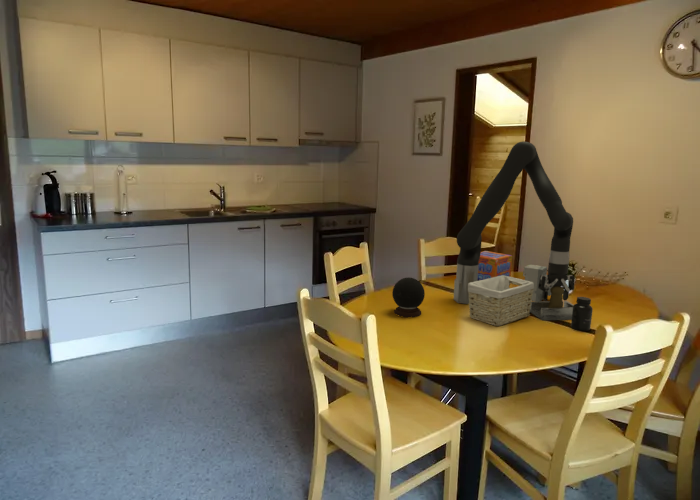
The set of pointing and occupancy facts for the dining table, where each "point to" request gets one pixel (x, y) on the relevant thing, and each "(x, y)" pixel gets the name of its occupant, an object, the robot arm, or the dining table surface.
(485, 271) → the game box
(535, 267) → the circuit breaker
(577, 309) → the supplement bottle
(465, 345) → the dining table surface
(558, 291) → the cork
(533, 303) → the grey wooden tray
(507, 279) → the storage basket
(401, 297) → the black ball on stand
